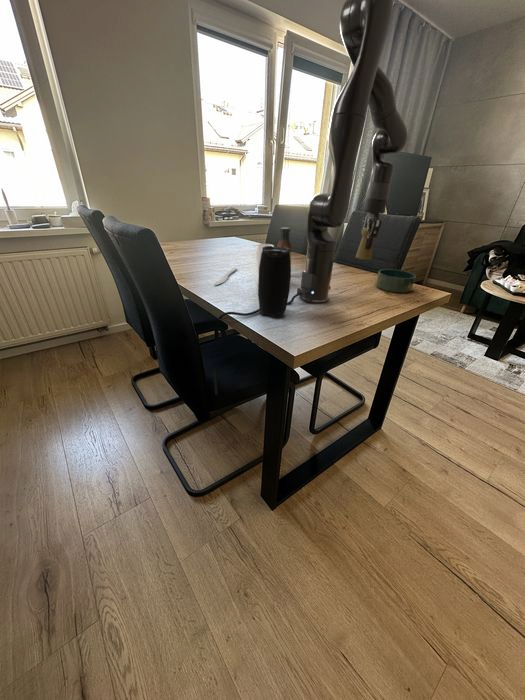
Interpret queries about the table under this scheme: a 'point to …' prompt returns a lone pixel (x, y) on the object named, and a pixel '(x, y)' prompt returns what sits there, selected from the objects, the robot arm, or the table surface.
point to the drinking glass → (258, 256)
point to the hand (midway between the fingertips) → (365, 247)
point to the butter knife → (225, 276)
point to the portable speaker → (274, 280)
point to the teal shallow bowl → (395, 280)
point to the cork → (363, 252)
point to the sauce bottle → (285, 239)
